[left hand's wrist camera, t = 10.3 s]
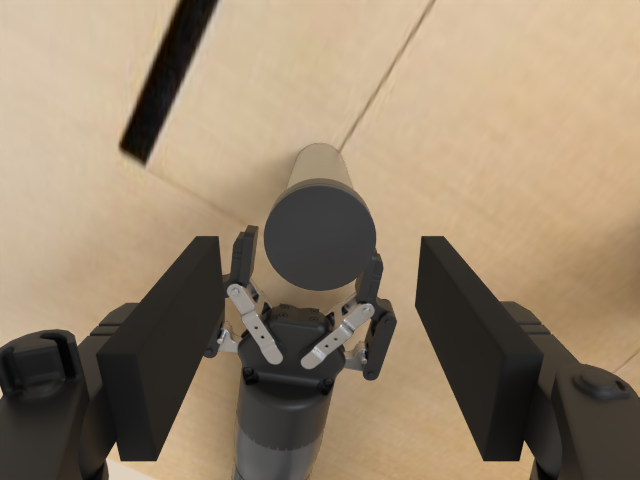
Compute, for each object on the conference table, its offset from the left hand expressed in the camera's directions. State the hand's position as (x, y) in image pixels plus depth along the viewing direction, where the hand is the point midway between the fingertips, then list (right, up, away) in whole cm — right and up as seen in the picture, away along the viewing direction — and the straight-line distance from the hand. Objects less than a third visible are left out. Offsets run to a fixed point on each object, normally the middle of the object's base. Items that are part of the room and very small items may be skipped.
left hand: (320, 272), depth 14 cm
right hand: (-1, +1, +14) cm, 14 cm away
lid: (0, +1, +3) cm, 4 cm away
